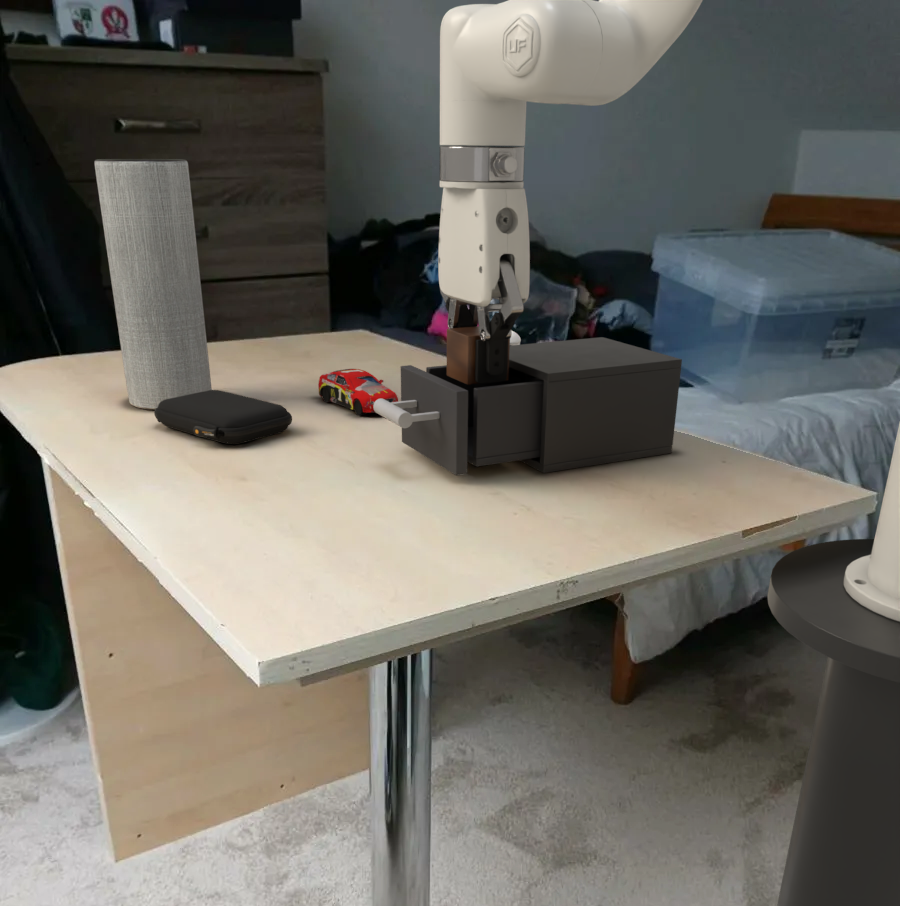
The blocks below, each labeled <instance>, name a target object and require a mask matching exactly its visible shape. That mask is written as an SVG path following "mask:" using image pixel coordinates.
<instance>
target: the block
mask: <svg viewBox="0 0 900 906" xmlns="http://www.w3.org/2000/svg"><path fill="white" fill-rule="evenodd" d="M480 339H481V338H480V332H479V325H477V326H476V327H464V328H451V329H449V328H446V365H447V376H449V377H451V378H453V379H456V380H458V381H460V382H463V383H465V384H467V385H471V384H480V383H477V382H476V381H475V349H476V340H480ZM509 351H510V339H508V364H507V379H506V380H505V381H508V380H509Z"/></svg>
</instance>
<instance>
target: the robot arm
mask: <svg viewBox="0 0 900 906" xmlns="http://www.w3.org/2000/svg"><path fill="white" fill-rule="evenodd" d="M703 1H704V0H598V1H597V0H506V1H502V2H499V3H496V4H495V3H471V4H464V5H458V6H454V7H453V8H450V9H449V10H447V11H446V13H445V14H444V15H443V17H442V19H441V23H440V27H439V188H442V195H441V205H440V216H439V217H440V218H439V229H438V230H439V231H438V252H437V253H438V256H437V257H438V258H437V259H438V260H437V263H438V264H437V265H438V266H437V267H438V272H437V273H438V284H439V292H440V295H441V297H442V299H443V301H444V303H445V305H444V306H445V309H446V311H447V314H448V315H447V329H451V328H464V327H476V326H479V332H480V338H481V339H480V340H476V349H475V381H476V382H477V383H480V384H484V383H493V382H502V381H505V380H506V379H507V364H508V339H510V338H511V335H512V331H513V330H512V328H513V327H514V325H515V324H516V321H517V320H518V318H519V317H520V316H521V315H522V314H523V313H524V310H525V308H524V304H525V303H526V302H527V301H528V299H529V295H530V283H531V281H530V280H531V279H530V277H531V276H530V275H531V274H530V273H531V263H530V262H531V261H530V260H531V250H530V244H531V243H530V225H529V223H530V222H529V212H528V211H529V210H528V202H527V201H528V200H527V196H526V195H527V194H526V188H524V185H525V183H524V182H525V159H526V158H525V156H526V147H525V146H526V129H527V128H526V125H527V124H526V123H527V102H529V103H536V104H547V105H548V104H549V105H576V106H589V107H591V106H592V107H594V106H603V105H607V104H609V103H611V102H614V101H616V100H618V99H619V98H621V97H622V96H624V95H626V94H627V93H628V92H629V91H631V89H633V88H634V86H637V84H638V83H639V82H640V81H641V80H642V79H643V78H644V77H645V76H646V75H647V74H648V73H649V71H650V70H652V69H653V67H654V66H655V65H656V64H657V62H658V61H659V60H660V59H661V58H662V57H663V56H664V55H665V53H666V52H667V51H668V50H669V49H670V47H671V46H672V45H673V44H674V43H675V42H676V40H678V38H679V37H680V36H681V34H682V33H683V32H684V31H685V29H686V28H687V27H688V25H690V23H691V22H692V19H694V16H695V15H696V13H697V11H698V10H699V8H700V6H701V4H702V3H703ZM493 299H494V300H498V302H497V303H491V302H492V301H493ZM492 312H495V313H494V314H493V316H492V318H491V319H490V313H492ZM511 330H512V331H511ZM873 539H874V544H873V548H872V553H871V555H868V556H864V557H861V558H859V559H857V560H855V561H853V562H851V563H850V564H849V565H848V566H847V568H846V571H845V576H844V584H843V585H844V587H845V589H846V591H847V592H848V594H849V595H850V596H851V597H852V598H853V599H854V600H855V601H857V602H858V603H859V604H861V605H862V606H864V607H866V608H867V609H869V610H871V611H873V612H875V613H877V614H879V615H882V616H884V617H886V618H889V619H892V620H895V621H898V622H900V422H899V423H898V428H897V433H896V438H895V443H894V447H893V451H892V455H891V459H890V465H889V470H888V475H887V479H886V484H885V489H884V493H883V497H882V503H881V506H880V512H879V515H878V521H877V526H876V530H875V536H874V538H873Z"/></svg>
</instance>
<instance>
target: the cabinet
mask: <svg viewBox="0 0 900 906" xmlns="http://www.w3.org/2000/svg"><path fill="white" fill-rule="evenodd" d="M682 363H683V359H682V358H678V357H675V356H671V355H668V354H664V353H661V352H658V351H653V350H649V349H646V348H643V347H639V346H635V345H633V344H628V343H624V342H622V341H617V340H614V339H611V338H607V337H603V336H599V337H590V338H578V339H577V338H576V339H567V340H566V339H565V340H556V341H546V342H534V343H524V344H523V343H522V344H520V345H512V346H510V351H509V368H512V369H515V370H517V371H520V372H523V373H525V374H528V375H531V376H533V377H536V378H539V379H541V380H544V386H543V407H542V427H541V448H540V457H537V458H531V459H524V460H519V462H522V463H523V464H525V465H528V466H529V467H531V468H533V469H535V470H537V471H539V472H540V473H542V474H547V473H553V472H560V471H566V470H573V469H579V468H585V467H591V466H598V465H603V464H610V463H616V462H624V461H628V460H636V459H643V458H648V457H654V456H661V455H666V454H672V453H673V445H674V435H675V428H676V417H677V408H678V400H679V392H680V382H681V372H682V365H683V364H682Z"/></svg>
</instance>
